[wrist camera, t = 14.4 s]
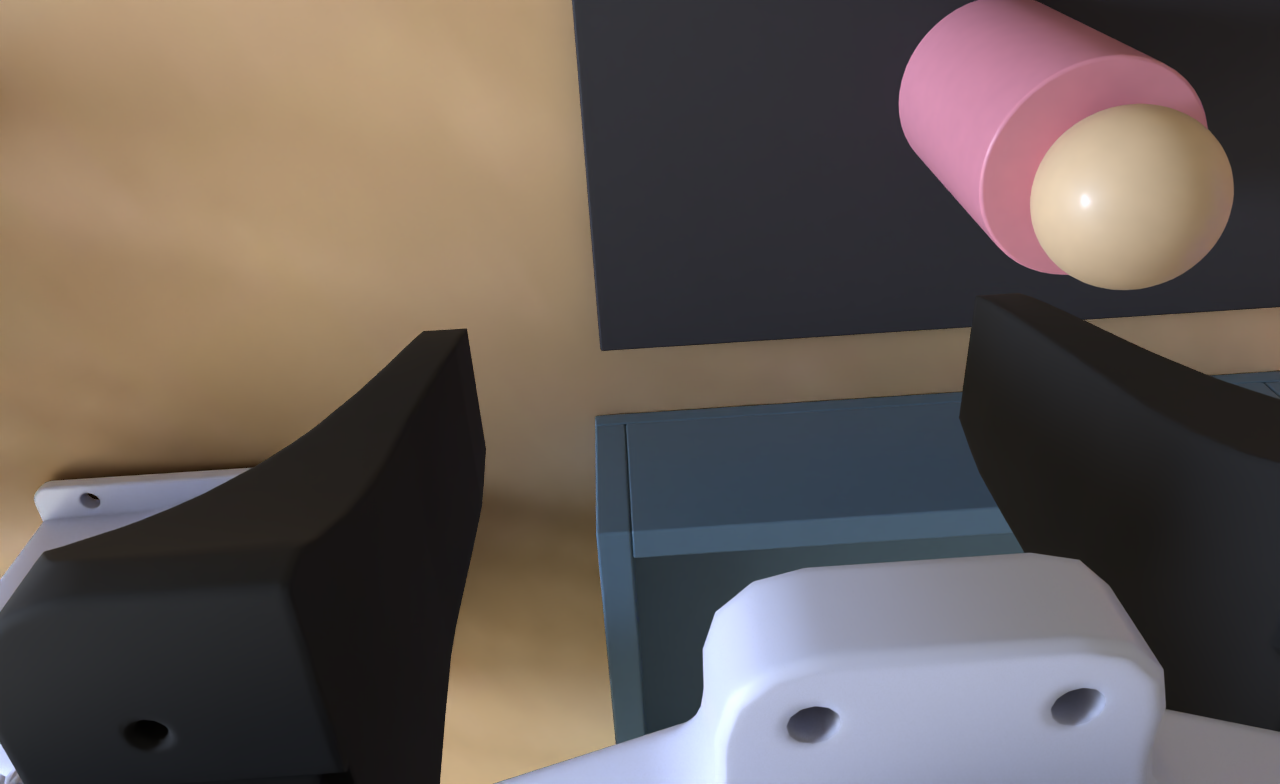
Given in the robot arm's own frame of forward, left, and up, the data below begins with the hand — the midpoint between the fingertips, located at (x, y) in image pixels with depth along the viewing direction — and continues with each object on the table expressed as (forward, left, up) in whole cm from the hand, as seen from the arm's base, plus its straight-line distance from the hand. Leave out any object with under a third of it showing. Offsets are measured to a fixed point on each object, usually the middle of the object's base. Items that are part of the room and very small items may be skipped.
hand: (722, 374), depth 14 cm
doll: (+7, +1, -10) cm, 12 cm away
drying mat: (+7, +1, -10) cm, 13 cm away
